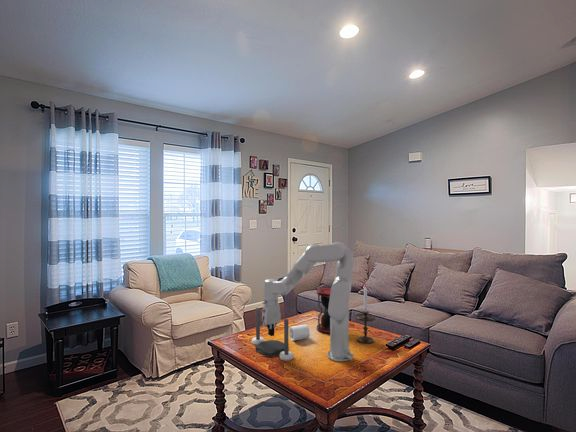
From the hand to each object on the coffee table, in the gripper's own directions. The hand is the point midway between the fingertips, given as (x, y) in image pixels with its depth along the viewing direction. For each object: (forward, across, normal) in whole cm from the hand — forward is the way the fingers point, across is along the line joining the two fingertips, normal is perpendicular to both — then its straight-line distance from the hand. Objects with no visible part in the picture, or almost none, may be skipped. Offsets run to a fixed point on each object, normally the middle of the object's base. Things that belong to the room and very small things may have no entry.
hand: (271, 335), depth 187 cm
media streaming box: (+9, 0, 0) cm, 9 cm away
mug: (+8, +22, +3) cm, 24 cm away
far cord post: (+8, 0, +13) cm, 15 cm away
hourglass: (+8, +46, 0) cm, 47 cm away
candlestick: (+8, +49, -26) cm, 56 cm away
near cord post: (+8, 0, -13) cm, 15 cm away
